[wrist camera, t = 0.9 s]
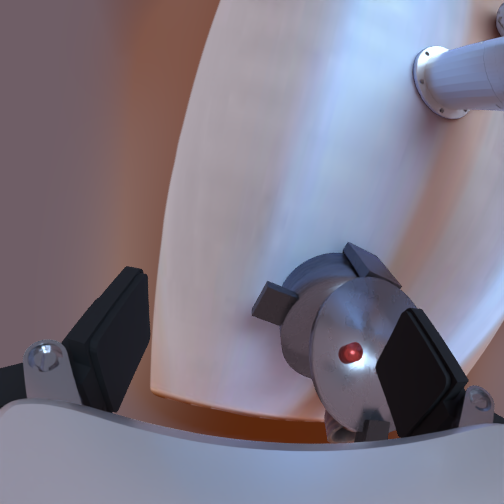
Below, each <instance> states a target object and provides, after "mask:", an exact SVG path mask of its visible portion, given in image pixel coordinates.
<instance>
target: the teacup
mask: <svg viewBox="0 0 504 504" xmlns="http://www.w3.org/2000/svg"><path fill="white" fill-rule="evenodd" d="M496 27H497V29H498V32H499V33H500V35H501V37H503V36H504V3H503V4H502V5H501V6H500V7H499V9H498V12H497V20H496Z"/></svg>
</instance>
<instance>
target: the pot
mask: <svg viewBox="0 0 504 504" xmlns="http://www.w3.org/2000/svg"><path fill="white" fill-rule="evenodd" d="M343 251H344V253H345V254H344V253H329V254H323V255H320V256H316V257H314V258H312V259H309V260H308V261H306V262H304V263H302V264H301V265H300V266H298V267H297V268H296V269H295V270H294V271H293V272H292V273H291V274H290V275H289V276H288V277H287V279H286V280H285V282H284V283H283V285H282V287H281V286H279V285H276V284H274V283H271V282H269V281H267V283H266V284H265V286H264V288H263V290H262V292H261V294H260V295H259V297H258V299H257V301H256V303H255V304H254V306H253V308H252V316H254V317H257V318H260V319H263V320H265V321H268V322H271V323H274V324H276V325H279V326H280V334H281V345H282V352H283V355H284V358H285V359H286V361H287V363H288V364H289V365H290V366H291V367H292V368H293V369H294V370H295V371H296V372H298V373H299V374H301V375H303V376H306V377H308V378H312V376H311V371H310V365H309V340H310V333H311V329H312V325H313V322H314V319H315V316H316V314H317V312H318V310H319V308H320V306H321V305H322V303H323V302H324V301H325V299H326V298H327V297H328V296H329V295H330V294H331V293H332V292H333V291H334V290H336V289H337V288H338V287H340V286H341V285H343V284H344V283H346V282H348V281H350V280H352V279H356V278H359V277H375V278H379V279H383V280H385V281H388V282H390V283H391V284H393V285H395V286H396V287H398V288H399V289H400V288H401V287H402V286H401V285H400V283H399V282H398V281H397V280H396V279H395V277H394V276H393V275H392V274H391V272H390V271H389V270H388V269H387V268H386V266H385V265H384V264H383V263H382V262H381V261H380V259H379V258H378V257H377V256H375V255H373V254H371V253H369V252H367V251H365V250H363V249H361V248H359V247H358V246H356V245H354V244H352V243H350V242H348V243H347V244H346V246H345V248H344V250H343Z"/></svg>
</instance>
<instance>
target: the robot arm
mask: <svg viewBox="0 0 504 504" xmlns="http://www.w3.org/2000/svg"><path fill="white" fill-rule="evenodd" d="M413 71H414V79H415V84H416V87H417V89H418V92H419V94H420V96H421V98H422V99H423V101H424V102H425V103H426V105H427V106H428V107H429V108H430V109H431V110H432V111H433V112H435V113H436V114H438V115H439V116H441V117H444V118H447V119H458V118H461V117H463V116H465V115H466V114H467V113H468V112H469V110H497V111H504V36H503V37H498V38H494V39H490V40H486V41H482V42H478V43H474V44H470V45H466V46H463V47H459V48H456V49H452V50H448V49H446V48H444V47H440V46H431V47H428V48H425V49H423V50H422V51H421V52H420V53H419V54H418V55H417V57H416V59H415V62H414V70H413ZM149 340H150V321H149V302H148V276H147V274H143V270H142V269H139V268H134V267H128V266H126V267H125V268H124V269H123V270H122V271H121V273H120V274H119V275H118V276H117V277H116V278H115V280H114V281H113V282H112V283H111V284H110V285H109V287H108V288H107V289H106V290H105V291H104V293H103V294H102V295H101V296H100V297H99V298H97V299H96V300H95V301H94V302H93V304H92V305H91V306H90V307H89V308H88V310H87V311H86V312H85V313H84V315H83V316H82V317H81V318H80V320H79V321H78V322H77V324H76V325H75V326H74V327H73V328H72V330H71V331H70V332H69V334H68V335H67V336H66V338H65V339H64V340H63V341H62V343H59V342H57V341H54V340H41V341H38V342H35V343H34V344H32V345H31V346H30V347H29V348H28V349H27V350H26V352H25V354H24V356H23V363H20V364H16V365H12V366H8V367H4V368H0V504H504V418H503V417H501V416H499V415H497V414H495V413H494V401H493V398H492V397H491V395H490V394H489V393H488V392H487V391H486V390H485V389H483V388H482V387H479V386H474V385H473V386H470V387H469V388H467V390H466V391H465V389H464V386H465V385H466V384H467V382H468V379H467V377H466V375H465V374H464V372H463V370H462V369H461V367H460V365H459V364H458V362H457V361H456V359H455V357H454V356H453V354H452V353H451V351H450V350H449V348H448V347H447V345H446V343H445V342H444V340H443V339H442V337H441V336H440V334H439V333H438V332H437V330H436V329H435V327H434V326H433V324H432V323H431V321H430V320H429V319H428V317H427V316H426V314H425V313H424V312H423V310H422V309H416V308H407V309H406V310H405V311H404V312H402V314H401V315H400V317H399V320H398V322H397V324H396V326H395V328H394V330H393V332H392V334H391V336H390V338H389V340H388V342H387V344H386V346H385V347H384V349H383V351H382V353H381V355H380V357H379V359H378V360H377V363H376V367H375V369H376V373H377V376H378V378H379V381H380V384H381V387H382V389H383V392H384V395H385V398H386V401H387V404H388V407H389V409H390V412H391V415H392V418H393V421H394V425H395V428H396V431H397V434H398V436H399V437H401V438H397V439H389V440H380V441H370V442H357V443H337V444H291V443H272V442H259V441H248V440H238V439H230V438H222V437H215V436H208V435H203V434H197V433H192V432H187V431H182V430H177V429H172V428H167V427H163V426H158V425H154V424H150V423H146V422H141V421H138V420H134V419H131V418H127V417H124V416H120V415H116V414H113V413H112V412H117V411H118V410H119V407H120V405H121V403H122V401H123V398H124V396H125V394H126V391H127V389H128V387H129V385H130V382H131V380H132V378H133V376H134V374H135V371H136V369H137V367H138V365H139V363H140V360H141V358H142V356H143V354H144V352H145V349H146V348H147V345H148V343H149Z"/></svg>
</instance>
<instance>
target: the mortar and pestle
mask: <svg viewBox="0 0 504 504" xmlns="http://www.w3.org/2000/svg"><path fill="white" fill-rule="evenodd" d="M325 427H326V432H327V440H328V441H329V442H330V443H333V444H337V443H350V442H353V441H354V440H355V436H356V432H355V431H352V430H350V429H348V428H346V427H344V426H343V425H341V424H340V423H339V422H338V421H336V420H335V419H334V418H333V417H332V416H331V415H330V414H329V412H328V411H327V410H325ZM387 440H388V439H387Z"/></svg>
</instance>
